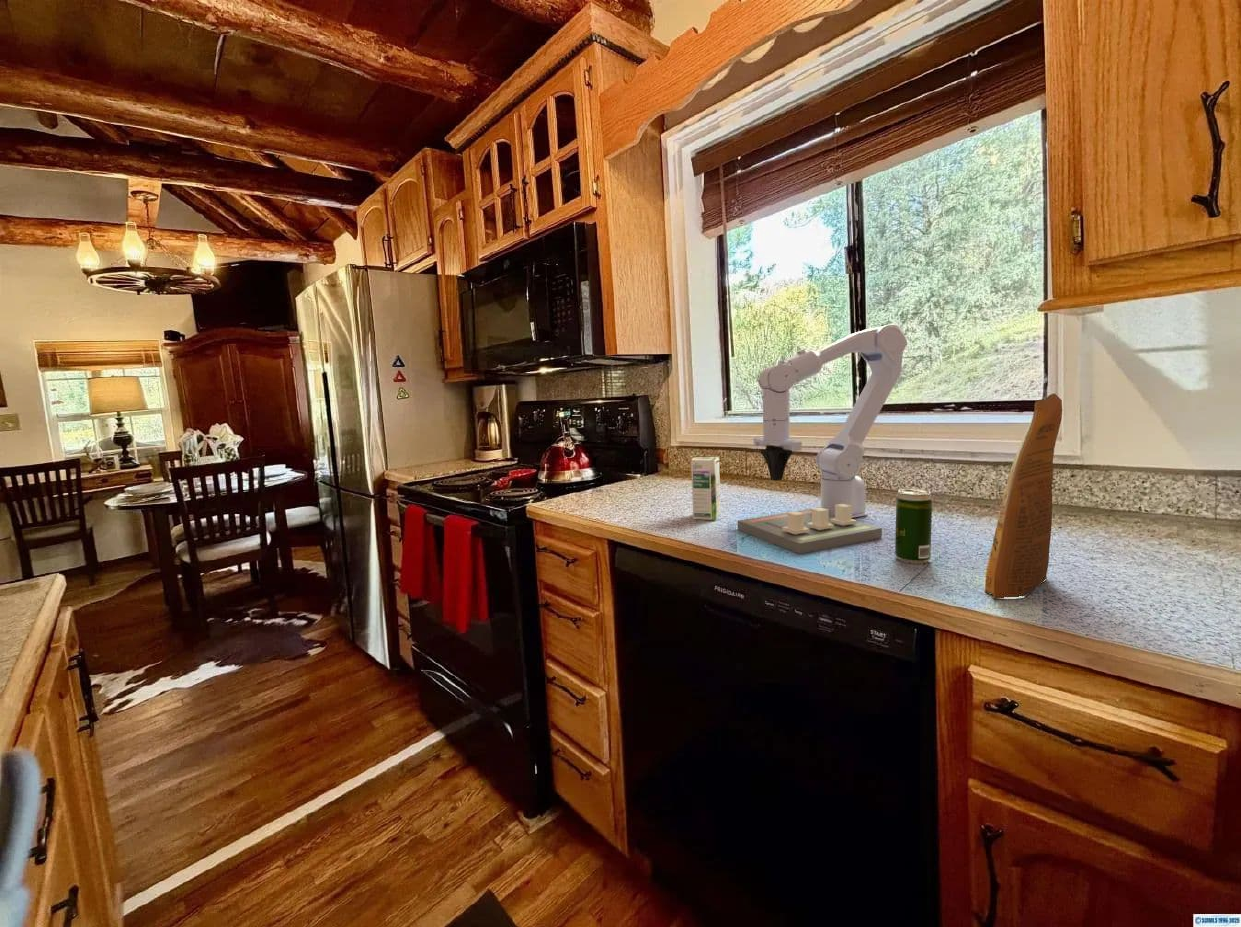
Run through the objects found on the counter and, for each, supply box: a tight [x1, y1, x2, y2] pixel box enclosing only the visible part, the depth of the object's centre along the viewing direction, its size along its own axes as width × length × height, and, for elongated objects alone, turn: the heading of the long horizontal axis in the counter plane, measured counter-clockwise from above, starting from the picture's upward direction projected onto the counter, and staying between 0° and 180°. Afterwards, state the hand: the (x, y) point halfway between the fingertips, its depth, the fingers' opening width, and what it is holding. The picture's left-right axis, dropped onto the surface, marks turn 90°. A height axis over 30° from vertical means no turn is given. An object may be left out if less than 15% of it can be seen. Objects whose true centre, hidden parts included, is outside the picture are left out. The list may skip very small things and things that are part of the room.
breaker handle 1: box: [782, 510, 809, 534], centre depth 105 cm, size 4×4×4 cm
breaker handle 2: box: [830, 504, 858, 526], centre depth 110 cm, size 4×4×4 cm
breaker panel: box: [737, 508, 883, 555], centre depth 112 cm, size 20×20×2 cm
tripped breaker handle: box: [807, 507, 834, 530], centre depth 107 cm, size 4×4×4 cm
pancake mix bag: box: [984, 393, 1063, 599], centre depth 77 cm, size 7×19×28 cm, turn 128°
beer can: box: [894, 488, 933, 565], centre depth 92 cm, size 5×5×12 cm
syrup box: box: [690, 456, 721, 521], centre depth 128 cm, size 6×6×14 cm
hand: (776, 479), depth 122 cm, fingers closed
